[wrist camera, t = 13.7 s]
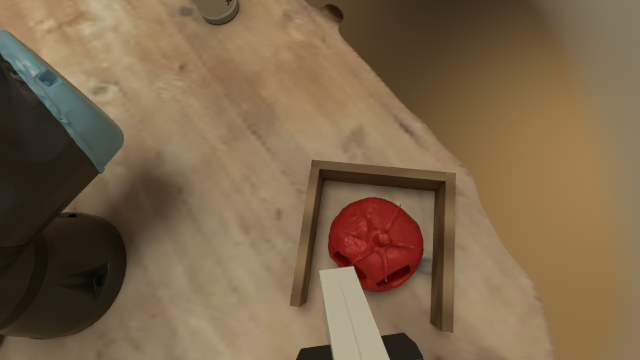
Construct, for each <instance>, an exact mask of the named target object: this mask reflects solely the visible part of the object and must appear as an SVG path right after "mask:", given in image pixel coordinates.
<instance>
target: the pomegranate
mask: <svg viewBox="0 0 640 360" xmlns="http://www.w3.org/2000/svg"><path fill="white" fill-rule="evenodd" d="M400 206H401V205H400ZM400 206H397V205H396V204H394V203H392V202H390V201H388V200H385V199H382V198H376V197H369V198H365V199H361V200H359V201H356V202H353V203H350V204H349V205H348V206H346V207H345V208H343V209H342V210H341V212H340V213H339V214H338V216H336V218H335V219H334V221H333V222H332V225H331V228H330V233H329V242H328V250H329V254H330V257H331V258H332V259H333V260H334V261H335V262H336V263H337V264H338V265H339V266H340V267H341V268H344V267H351V266H353V267H354V269H355V272H356V275H357V277H358V280H359V282H360V285H361V287H362V289H365V290H368V291H377V292H379V291H385V290H390V289H391V288H394V287H397V286H400V285H401V284H402V283H403V282H404V281H406V280H407V279H409V278H410V277H411V275H412V274H413V273H414V272H415V270H416V269H417V267H418V266H419V264H420V262H421V259H422V255H423V251H424V249H423V237H422V234H421V231H420V228H419V225H418V224H417V222H416V221H414V220H413V219H412V218H411V217H410V216H409V215H408V214H407V213H406V212H405V211H404V210H403V209H402V208H401V207H400Z"/></svg>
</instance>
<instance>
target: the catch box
mask: <svg viewBox="0 0 640 360" xmlns="http://www.w3.org/2000/svg"><path fill="white" fill-rule="evenodd" d="M323 180H333V181H343V182H352V183H362V184H372V185H382V186H392V187H401V188H411V189H421V190H431V191H435V206H434V234H433V263H432V291H431V319H430V323H432V324H433V325H435V326H436V327H437V328H439V329H440V330H441V331H445V332H451V333H453V301H454V241H455V181H456V173H449V172H438V171H428V170H417V169H406V168H395V167H385V166H374V165H363V164H352V163H342V162H331V161H320V160H312V163H311V170H310V177H309V183H308V190H307V196H306V203H305V209H304V216H303V222H302V229H301V235H300V242H299V248H298V255H297V261H296V268H295V275H294V281H293V288H292V294H291V301H290V306H295V307H300V306H301V305H303V304H304V303H305V302H306V299H307V292H308V285H309V278H310V270H311V263H312V256H313V249H314V242H315V235H316V228H317V220H318V213H319V206H320V199H321V192H322V185H323Z"/></svg>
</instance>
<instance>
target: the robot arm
mask: <svg viewBox="0 0 640 360" xmlns="http://www.w3.org/2000/svg"><path fill="white" fill-rule="evenodd" d="M123 142H124V135H123V132H122V130H121V129H120V127H119V126H118V125H117V124H116V123H115V122H114V121H113V120H112V119H111V118H110V117H109V116H108V115H107V114H106V113H105V112H103V111H102V110H101V109H100V108H99V107H98V106H97V105H96V104H95V103H93V102H92V101H91V100H90V99H89V98H88V97H87V96H85V95H84V94H83V93H82V92H81V91H80V90H79V89H77V88H76V87H75V86H74V85H73V84H72V83H70V82H69V81H68V80H67V79H66V78H65V77H64V76H62V75H61V74H60V73H59V72H58V71H57V70H55V69H54V68H53V67H52V66H51V65H50V64H48V63H47V62H46V61H45V60H44V59H42V58H41V57H40V56H39V55H38V54H36V53H35V52H34V51H33V50H32V49H30V48H29V47H28V46H27V45H25V44H24V43H23V42H21V41H20V40H19V39H17V38H16V37H15V36H14V35H13V34H11V33H10V32H8V31H6V30H3V29H0V335H6V336H16V337H28V338H32V339H52V338H57V337H61V336H65V335H69V334H73V333H76V332H79V331H81V330H83V329H85V328H87V327H88V326H90V325H91V324H93V323H94V322H95V321H96V320H98V319H99V318H100V317H101V316H102V315H103V314H104V313H105V312H106V310H107V309H108V308H109V307H110V305H111V304H112V302H113V301H114V299H115V297H116V296H117V294H118V292H119V289H120V287H121V284H122V281H123V278H124V273H125V266H126V254H125V248H124V244H123V241H122V238H121V236H120V234H119V233H118V231H117V230H116V228H115V227H114V226H113V225H112V224H111V223H109V222H108V221H107V220H105V219H103V218H101V217H98V216H94V215H90V214H84V213H78V212H66V213H61V212H62V211H63V210H64V209H65V208H66V207H67V206H68V205H69V204H70V203H71V202H72V201H73V200H74V199H75V198H76V197H77V196H78V195H79V194H80V193H81V192H82V190H83V189H84V188H85V187H86V186H87V185H88V184H89V183H90V182H91V181H92V180H93V179H94V178H95V177H96V176H97V175H98V174H99V173H100V174H102V173H103V172H104V169H105V168H104V167H105V166H106V165H107V163H108V162H109V161H110V160H111V159H112V158H113V157H114V155H115V154H116V153H117V152H118V151H119V150H120V149H121V147H122V145H123ZM319 273H320V283H321V294H322V304H323V314H324V324H325V331H326V337H327V344H328V345H323V346H316V347H310V348H303V349H301V350H300V352H299V354H298V357H297V359H296V360H424V359H423V356H422V354H421V352H420V351H419V349H418V347H417V345H416V343H415V342H414V341H412V340H411V339H410V338H409V337H408V336H407V335H406V334H405V333H398V334H391V335H384V336H380V334H379V331H378V328H377V326H376V323H375V321H374V318H373V316H372V313H371V310H370V308H369V305H368V303H367V300H366V298H365V295H364V292H363V290H362V287H361V285H360V282H359V280H358V277H357V275H356V272H355V269H354V267H353V266H351V267H344V268H336V269H328V270H320V271H319Z"/></svg>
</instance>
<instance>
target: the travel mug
mask: <svg viewBox="0 0 640 360" xmlns="http://www.w3.org/2000/svg"><path fill="white" fill-rule="evenodd" d="M193 1H194V3H195V4H196V6H197V8H198V9H199V11H200V13H201V14H202V16H203V18H204V19H205V20H206V21H207V22H209V23H212V24H223V23H226V22H228V21H230V20H231V19H232V18H233V17H234V16H235V15H236V13H237V11H238V8H239V3H238V0H193Z"/></svg>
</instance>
